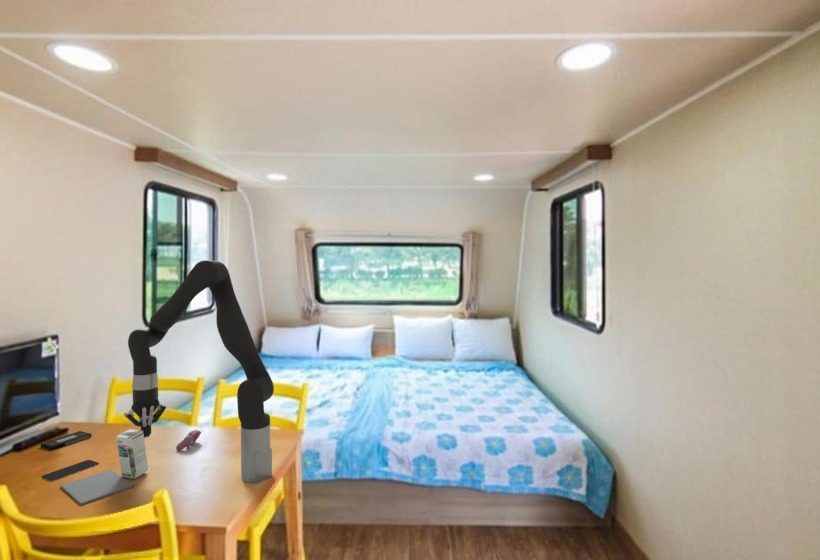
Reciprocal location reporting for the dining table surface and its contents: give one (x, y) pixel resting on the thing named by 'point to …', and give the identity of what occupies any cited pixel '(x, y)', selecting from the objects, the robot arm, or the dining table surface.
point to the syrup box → (132, 453)
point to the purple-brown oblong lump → (189, 440)
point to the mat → (96, 486)
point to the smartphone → (69, 470)
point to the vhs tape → (65, 440)
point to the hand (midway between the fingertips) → (146, 436)
